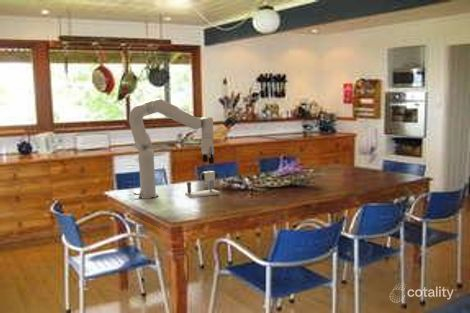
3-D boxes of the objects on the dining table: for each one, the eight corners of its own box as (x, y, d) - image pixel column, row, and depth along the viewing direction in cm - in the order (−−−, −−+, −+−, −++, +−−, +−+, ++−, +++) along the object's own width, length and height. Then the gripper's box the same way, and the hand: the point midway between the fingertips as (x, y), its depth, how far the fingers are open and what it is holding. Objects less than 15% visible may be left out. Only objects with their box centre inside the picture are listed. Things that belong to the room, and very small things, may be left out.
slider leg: (209, 191, 324) (209, 180, 324) (207, 190, 327) (207, 179, 326) (213, 190, 326) (213, 180, 325) (211, 190, 328) (211, 179, 328)
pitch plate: (190, 197, 315) (189, 183, 314) (184, 195, 324) (184, 180, 323) (219, 194, 324) (219, 179, 323) (213, 191, 333) (212, 177, 332)
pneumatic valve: (218, 186, 350) (217, 169, 348) (202, 188, 345) (201, 171, 343) (215, 185, 355) (214, 168, 353) (199, 187, 350) (198, 170, 349)
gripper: (197, 135, 328) (197, 161, 330) (207, 137, 313) (208, 164, 315) (207, 135, 331) (208, 160, 334) (218, 137, 316) (218, 163, 318)
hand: (208, 162), depth 324 cm, fingers open, 9 cm apart
